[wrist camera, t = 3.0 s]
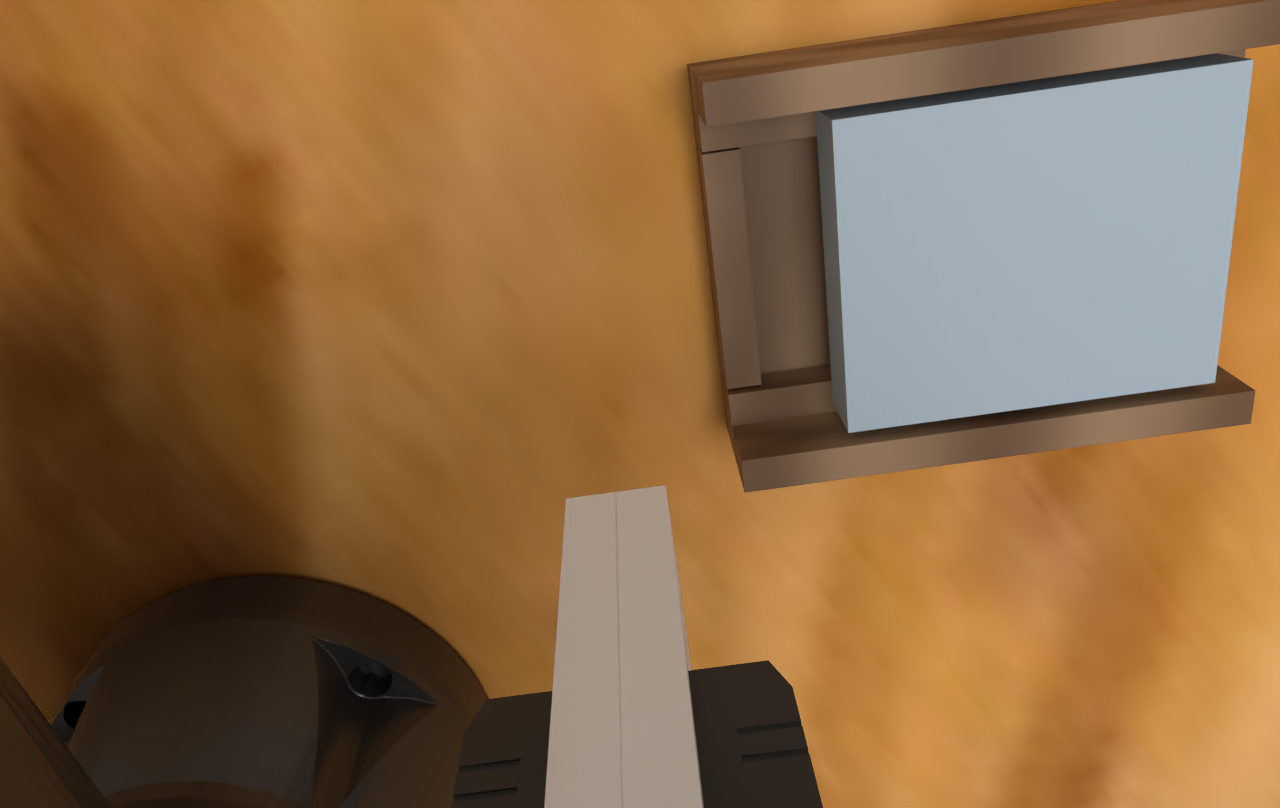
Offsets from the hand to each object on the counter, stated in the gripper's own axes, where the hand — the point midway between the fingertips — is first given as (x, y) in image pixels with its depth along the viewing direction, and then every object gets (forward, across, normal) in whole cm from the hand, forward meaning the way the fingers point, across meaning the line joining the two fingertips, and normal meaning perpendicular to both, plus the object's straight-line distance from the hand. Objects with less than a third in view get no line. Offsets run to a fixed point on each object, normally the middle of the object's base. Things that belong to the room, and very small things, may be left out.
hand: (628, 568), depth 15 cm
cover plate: (+13, +11, 0) cm, 17 cm away
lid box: (+15, +10, 0) cm, 18 cm away
